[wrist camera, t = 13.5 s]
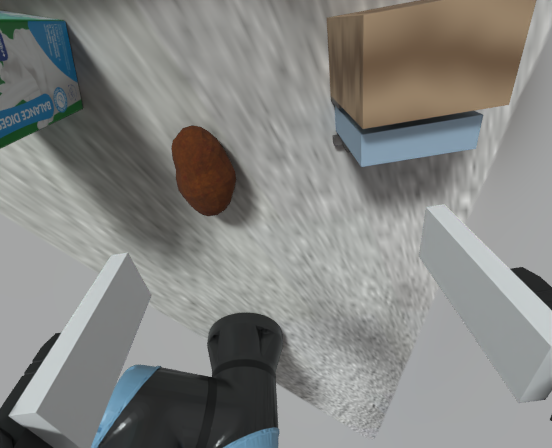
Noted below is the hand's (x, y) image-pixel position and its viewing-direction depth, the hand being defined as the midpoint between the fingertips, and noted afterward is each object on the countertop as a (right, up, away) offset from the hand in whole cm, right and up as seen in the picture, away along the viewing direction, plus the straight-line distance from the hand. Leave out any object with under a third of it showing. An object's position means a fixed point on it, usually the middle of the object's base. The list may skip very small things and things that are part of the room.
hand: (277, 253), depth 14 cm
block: (+13, +16, +25) cm, 32 cm away
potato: (-9, +10, +28) cm, 31 cm away
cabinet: (+12, +19, +23) cm, 32 cm away
